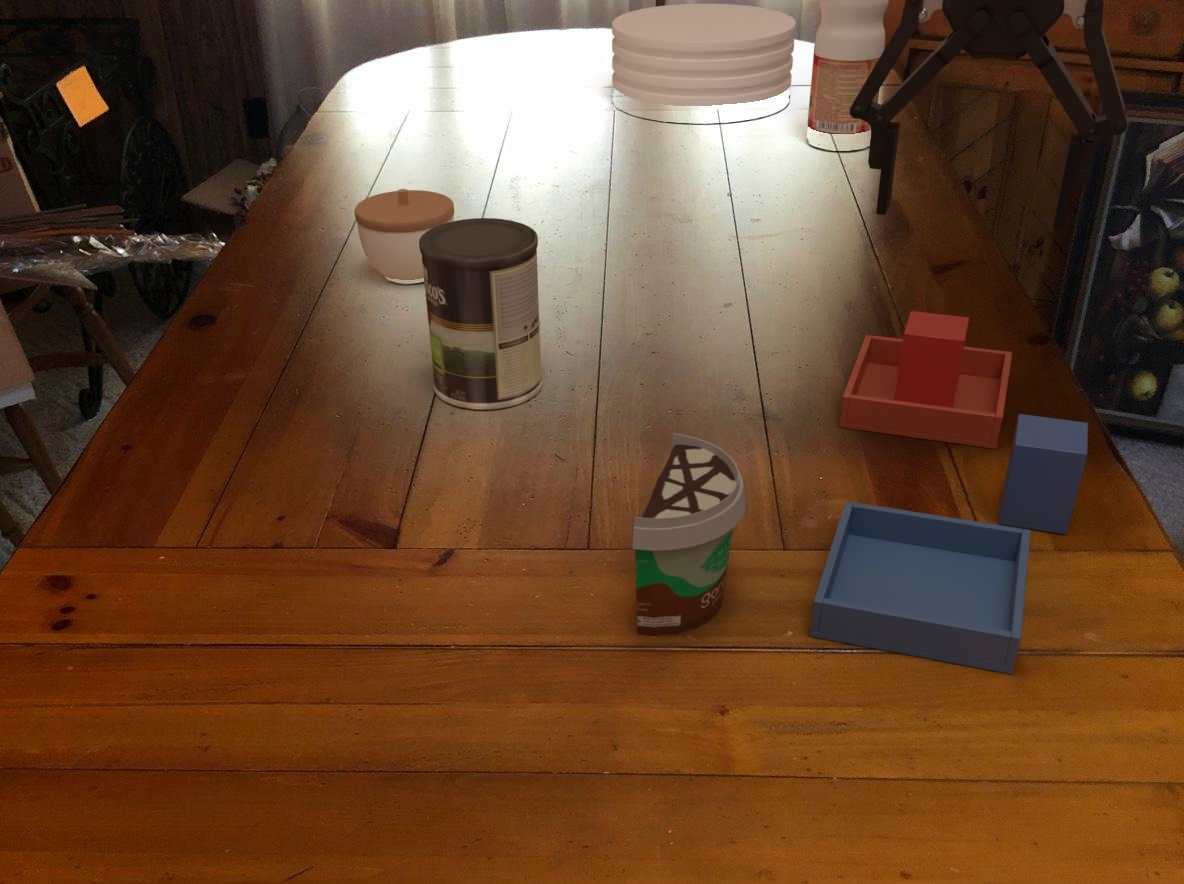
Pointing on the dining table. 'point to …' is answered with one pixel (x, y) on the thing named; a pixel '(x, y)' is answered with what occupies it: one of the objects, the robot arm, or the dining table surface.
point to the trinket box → (400, 229)
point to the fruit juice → (844, 62)
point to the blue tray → (924, 586)
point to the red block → (931, 359)
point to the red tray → (963, 424)
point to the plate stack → (702, 54)
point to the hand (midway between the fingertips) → (969, 216)
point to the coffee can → (483, 312)
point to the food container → (686, 538)
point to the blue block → (1043, 473)
